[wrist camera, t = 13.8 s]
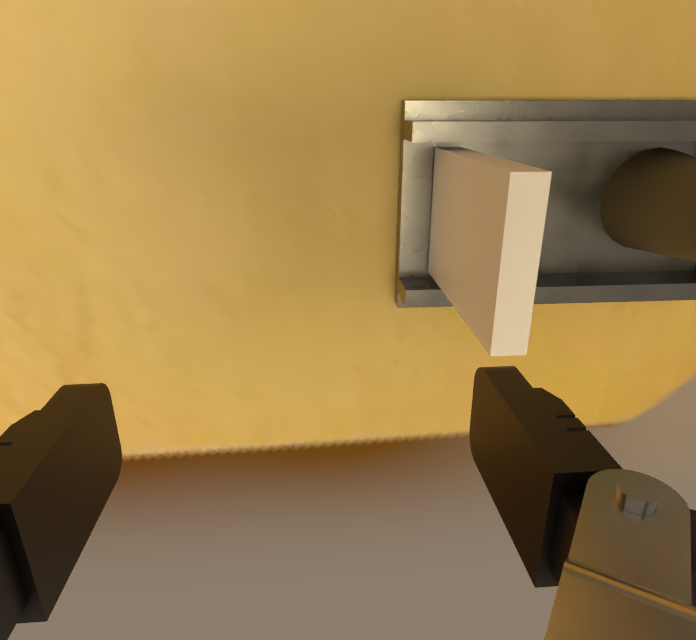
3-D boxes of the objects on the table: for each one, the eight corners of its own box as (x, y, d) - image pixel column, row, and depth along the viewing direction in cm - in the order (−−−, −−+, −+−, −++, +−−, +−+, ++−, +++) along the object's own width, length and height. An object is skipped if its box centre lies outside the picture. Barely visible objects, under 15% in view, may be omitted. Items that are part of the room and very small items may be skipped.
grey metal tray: (402, 100, 30) (414, 100, 26) (740, 100, 31) (791, 100, 28) (394, 302, 34) (404, 322, 31) (690, 294, 36) (729, 313, 32)
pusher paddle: (435, 147, 30) (510, 171, 19) (461, 147, 30) (551, 171, 19) (427, 271, 32) (490, 356, 21) (452, 270, 32) (526, 355, 21)
